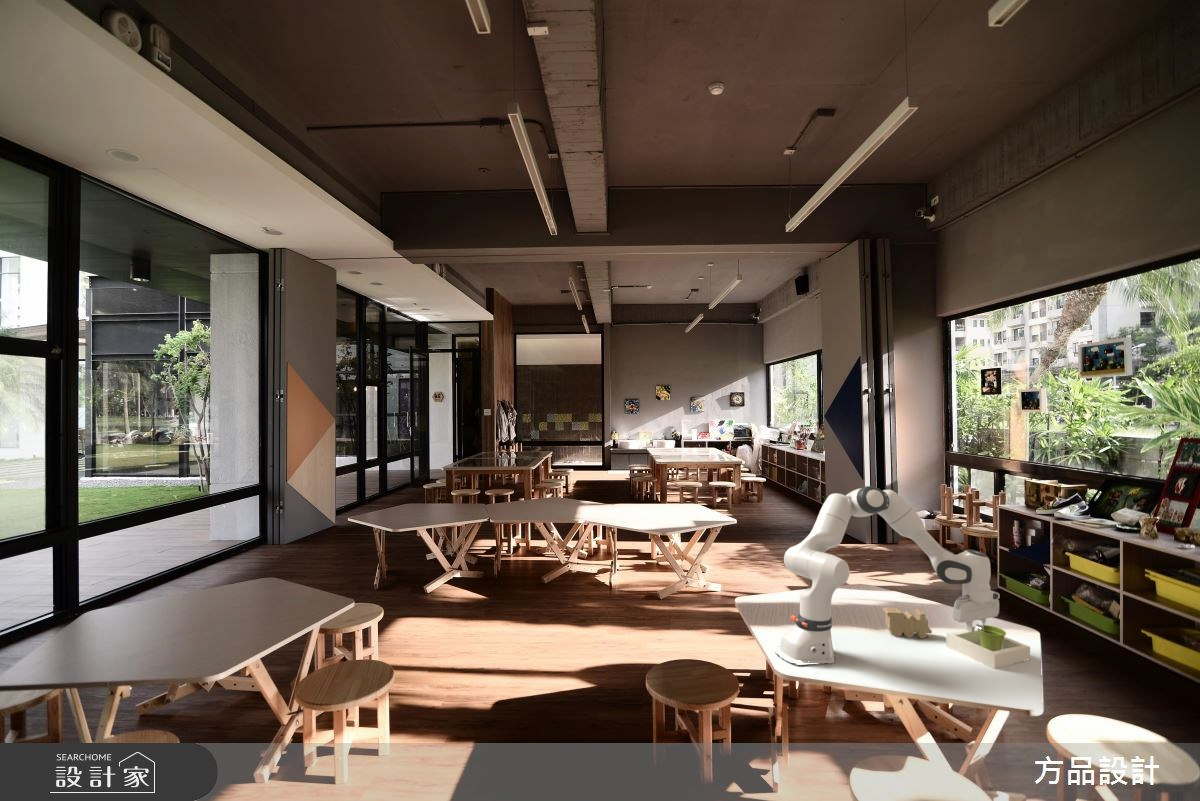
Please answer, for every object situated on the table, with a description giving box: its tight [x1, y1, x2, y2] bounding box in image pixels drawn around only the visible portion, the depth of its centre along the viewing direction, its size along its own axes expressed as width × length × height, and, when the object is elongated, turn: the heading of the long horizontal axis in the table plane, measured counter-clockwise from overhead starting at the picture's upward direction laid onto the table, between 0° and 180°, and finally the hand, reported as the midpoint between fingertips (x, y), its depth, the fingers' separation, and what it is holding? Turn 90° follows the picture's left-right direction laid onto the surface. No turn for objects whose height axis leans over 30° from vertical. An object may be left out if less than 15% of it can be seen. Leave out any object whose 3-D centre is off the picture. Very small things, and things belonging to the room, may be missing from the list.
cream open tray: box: [945, 627, 1031, 669], centre depth 219 cm, size 19×19×5 cm
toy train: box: [882, 606, 933, 639], centre depth 235 cm, size 6×17×10 cm, turn 81°
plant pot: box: [978, 624, 1007, 652], centre depth 219 cm, size 9×9×9 cm
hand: (975, 630), depth 216 cm, fingers open, 3 cm apart
